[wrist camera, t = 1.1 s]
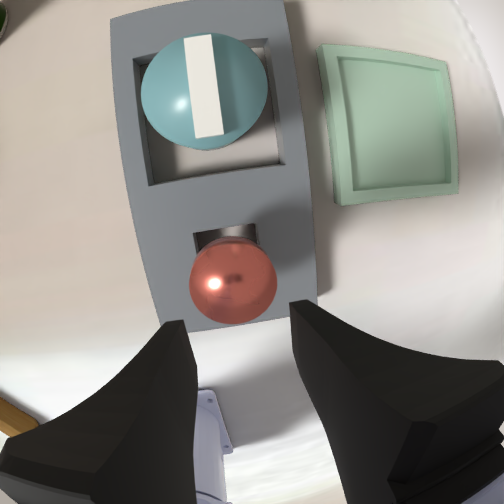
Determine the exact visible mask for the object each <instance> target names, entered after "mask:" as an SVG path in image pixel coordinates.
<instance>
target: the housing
mask: <svg viewBox="0 0 504 504" xmlns="http://www.w3.org/2000/svg"><path fill="white" fill-rule="evenodd" d="M196 33H219V34H224V35H227V36H230V37H233V38H235V39H237V40H239V41H241V42H242V43H244V44H245V45H247V46H248V47H249V48H257V47H264V51H265V57H266V64H267V71H268V77H269V84H270V91H271V98H272V105H273V113H274V120H275V128H276V136H277V144H278V152H279V160H280V164H277V165H269V166H261V167H253V168H245V169H238V170H231V171H224V172H218V173H211V174H205V175H199V176H193V177H187V178H182V179H176V180H171V181H166V182H160V183H155V184H154V179H153V173H152V167H151V161H150V154H149V148H148V141H147V133H146V126H145V118H144V109H143V106H142V101H141V81H140V69H139V66H140V65H144V64H149V63H151V61H152V60H153V58H154V57H155V56H156V55H157V54H158V53H159V52H160V51H161V50H162V49H163V48H164V47H166V46H167V45H168V44H170V43H172V42H173V41H175V40H177V39H179V38H182V37H185V36H188V35H191V34H196ZM110 36H111V62H112V78H113V91H114V102H115V112H116V121H117V129H118V137H119V144H120V151H121V158H122V164H123V170H124V176H125V182H126V187H127V193H128V198H129V203H130V208H131V213H132V218H133V223H134V227H135V232H136V236H137V240H138V245H139V249H140V253H141V257H142V261H143V265H144V269H145V273H146V277H147V280H148V284H149V288H150V291H151V295H152V298H153V302H154V305H155V309H156V312H157V315H158V318H159V322H160V325H161V326H162V325H163V324H164V323H165V322H166V321H174V320H182V319H184V323H185V327H186V330H187V333H190V332H198V331H205V330H212V329H219V328H225V327H232V326H238V325H245V324H251V323H257V322H262V321H268V320H274V319H279V318H285V317H290V309H289V302H294V301H299V300H305V299H308V300H309V301H311V302H313V303H314V304H316V305H318V302H317V276H316V257H315V240H314V226H313V212H312V200H311V189H310V178H309V168H308V159H307V149H306V141H305V132H304V124H303V117H302V109H301V102H300V95H299V88H298V81H297V75H296V68H295V62H294V56H293V50H292V45H291V39H290V34H289V28H288V23H287V18H286V13H285V8H284V3H283V0H189V1H183V2H178V3H172V4H167V5H162V6H158V7H153V8H149V9H145V10H141V11H137V12H133V13H129V14H126V15H122V16H119V17H116V18H112V19H110ZM252 223H255V231H256V239H257V244H258V245H259V246H260V247H261V248H262V249H263V250H264V251H265V252H266V254H267V255H268V257H269V259H270V261H271V263H272V265H273V267H274V269H275V272H276V275H277V291H276V295H275V297H274V300H273V302H272V303H271V305H270V306H269V307H268V309H267V310H266V311H265V312H264V313H263V314H261V315H260V316H258V317H257V318H255V319H253V320H251V321H248V322H245V323H241V324H223V323H219V322H216V321H213V320H211V319H209V318H208V317H206V316H205V315H203V314H202V313H201V312H200V311H199V310H198V309H197V307H196V306H195V304H194V303H193V301H192V298H191V295H190V291H189V279H190V273H191V268H192V264H193V262H194V259H195V257H196V256H197V254H198V253H199V248H198V243H197V238H196V232H201V231H207V230H213V229H219V228H226V227H232V226H239V225H245V224H252Z"/></svg>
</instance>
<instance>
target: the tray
mask: <svg viewBox="0 0 504 504" xmlns="http://www.w3.org/2000/svg"><path fill="white" fill-rule="evenodd" d="M316 53H317V59H318V65H319V71H320V77H321V83H322V90H323V97H324V104H325V111H326V119H327V127H328V135H329V144H330V154H331V165H332V176H333V188H334V203H336V204H339V205H341V206H346V205H354V204H362V203H371V202H380V201H389V200H398V199H407V198H417V197H427V196H438V195H449V194H458V151H457V136H456V125H455V116H454V107H453V100H452V93H451V87H450V81H449V75H448V70H447V65H446V62H444V61H440V60H436V59H432V58H427V57H423V56H418V55H413V54H407V53H402V52H396V51H390V50H383V49H375V48H367V47H358V46H347V45H332V44H322V45H321V46H319V47H318V48H317V49H316Z"/></svg>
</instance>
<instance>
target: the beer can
mask: <svg viewBox="0 0 504 504" xmlns="http://www.w3.org/2000/svg"><path fill="white" fill-rule="evenodd" d="M7 22H8V13H7V10H6V7H5V6H4V5H3V4H2V3H0V39H1V37H2V35H3V34H4V31H5V29H6V26H7Z"/></svg>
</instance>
